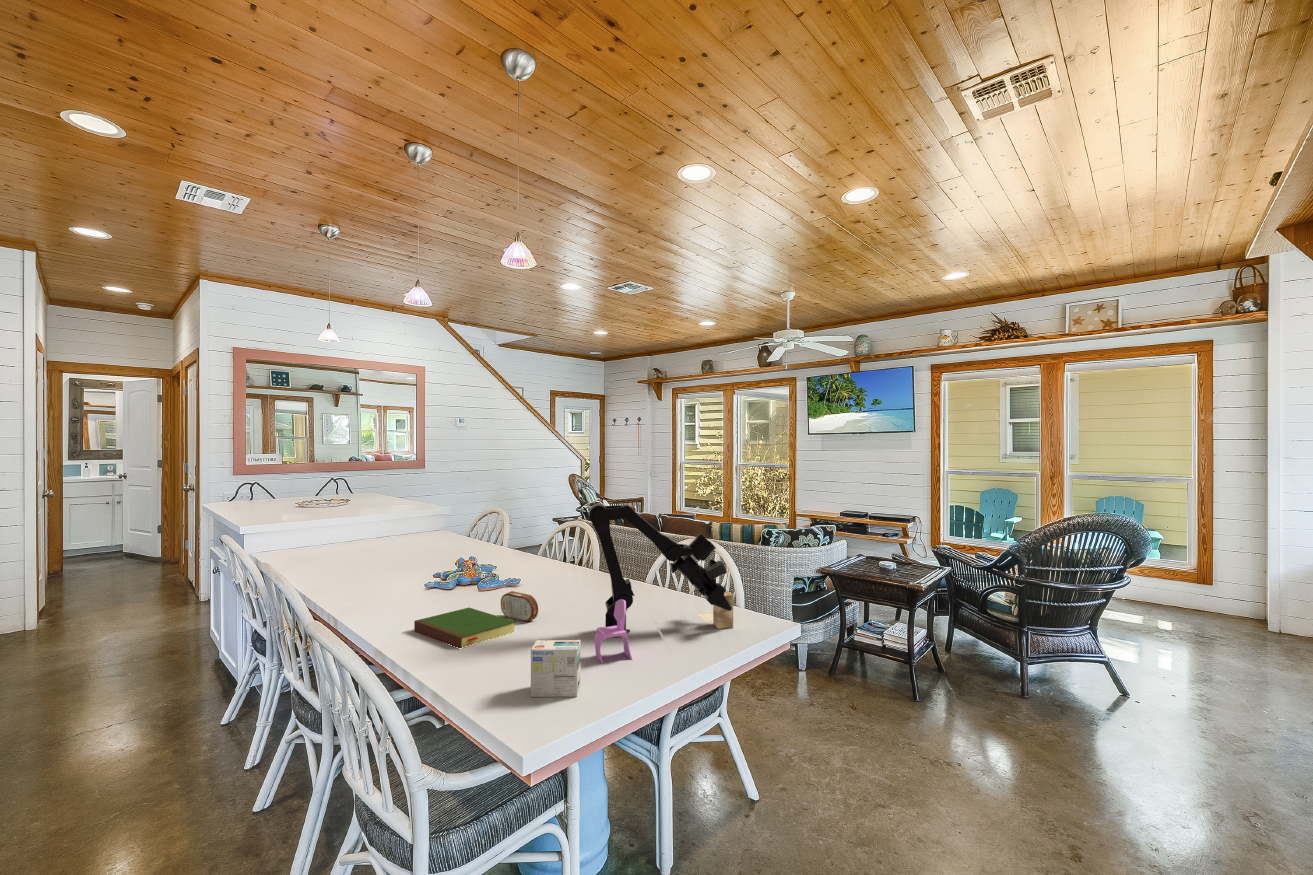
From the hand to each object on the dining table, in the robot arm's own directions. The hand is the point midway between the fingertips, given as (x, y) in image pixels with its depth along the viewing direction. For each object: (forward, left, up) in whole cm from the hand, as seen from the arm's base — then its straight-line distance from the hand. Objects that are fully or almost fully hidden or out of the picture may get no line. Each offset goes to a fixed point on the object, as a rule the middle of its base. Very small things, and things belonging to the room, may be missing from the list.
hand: (727, 606), depth 176 cm
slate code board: (+3, +5, -7) cm, 8 cm away
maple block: (-1, +1, -6) cm, 6 cm away
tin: (-27, +62, -7) cm, 68 cm away
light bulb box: (-63, +15, -7) cm, 65 cm away
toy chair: (-39, +16, -7) cm, 43 cm away
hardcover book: (-45, +66, -7) cm, 80 cm away
